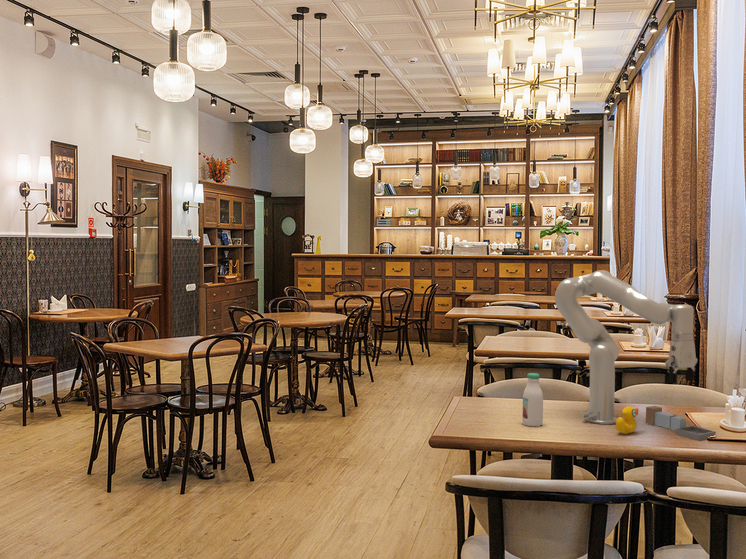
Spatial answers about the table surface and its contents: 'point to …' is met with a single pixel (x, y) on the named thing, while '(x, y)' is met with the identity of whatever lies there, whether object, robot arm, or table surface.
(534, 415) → the milk bottle
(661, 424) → the grey and brown blocks
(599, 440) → the table surface
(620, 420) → the duckling
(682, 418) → the stub
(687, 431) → the dish
